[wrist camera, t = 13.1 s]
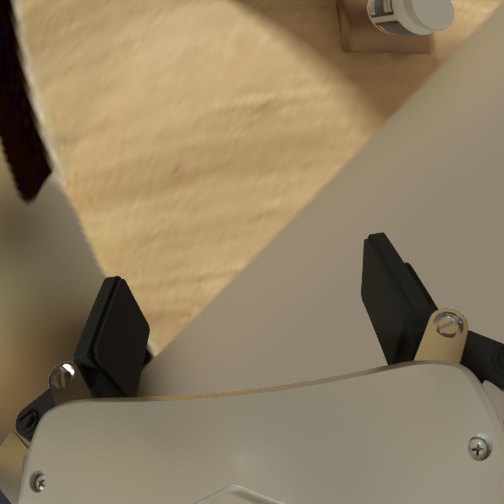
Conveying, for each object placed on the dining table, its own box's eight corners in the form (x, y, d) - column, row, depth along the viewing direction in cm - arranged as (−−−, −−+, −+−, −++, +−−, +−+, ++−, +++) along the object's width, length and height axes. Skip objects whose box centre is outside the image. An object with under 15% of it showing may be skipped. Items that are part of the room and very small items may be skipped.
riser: (331, -22, 26) (341, -28, 23) (404, -16, 26) (419, -20, 23) (343, 51, 32) (354, 52, 29) (413, 52, 32) (429, 54, 28)
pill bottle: (417, 21, 26) (468, 20, 18) (386, 43, 28) (432, 46, 20) (388, -17, 23) (434, -31, 15) (354, 5, 25) (394, -7, 17)
